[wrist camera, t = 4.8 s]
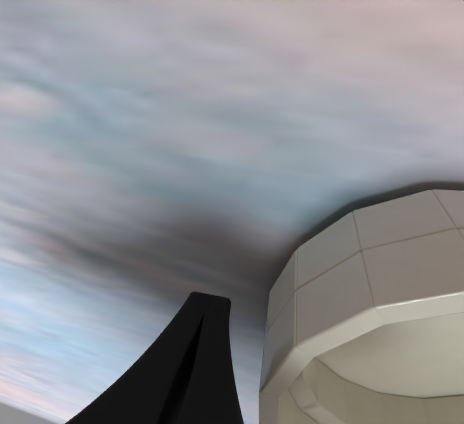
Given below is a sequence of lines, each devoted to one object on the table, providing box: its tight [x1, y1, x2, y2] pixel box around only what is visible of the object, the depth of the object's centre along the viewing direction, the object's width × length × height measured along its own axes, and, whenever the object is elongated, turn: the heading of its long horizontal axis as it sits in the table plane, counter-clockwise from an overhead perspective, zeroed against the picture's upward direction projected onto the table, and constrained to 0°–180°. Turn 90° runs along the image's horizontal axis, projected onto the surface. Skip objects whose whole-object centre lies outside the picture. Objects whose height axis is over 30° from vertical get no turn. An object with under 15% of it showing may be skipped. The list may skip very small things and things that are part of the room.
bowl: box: [259, 189, 464, 424], centre depth 11 cm, size 11×11×4 cm
